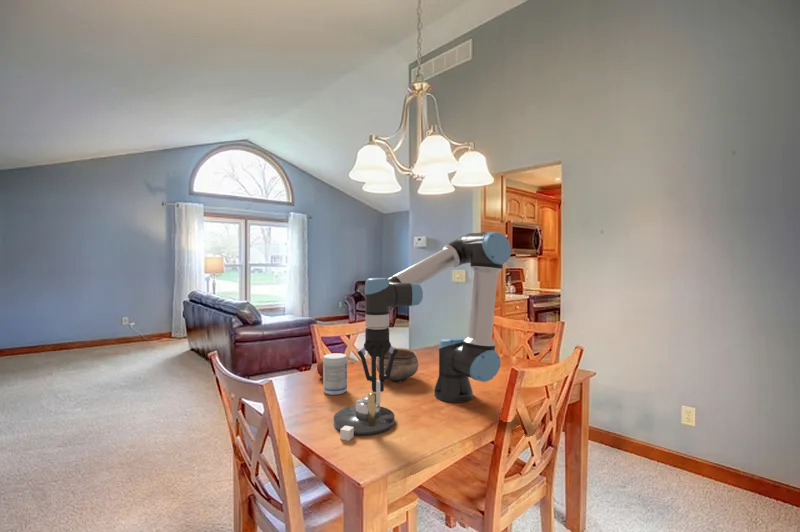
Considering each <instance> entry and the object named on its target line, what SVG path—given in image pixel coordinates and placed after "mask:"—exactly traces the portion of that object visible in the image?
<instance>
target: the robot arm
mask: <svg viewBox="0 0 800 532" xmlns="http://www.w3.org/2000/svg"><path fill="white" fill-rule="evenodd" d="M511 253H512V247H511V243H510V240H509V239H507V236H506V235H505V234H503V233H501V232H497V231H485V232H472V233H471V232H470V233H467V234H464V235H462V236H460V237H458V238H456V239H454V240H452V241H450V242H448V243H447V244H445V245H443V246H442V248H441V250H439V251H437V252H436V253H435V252H434V254H431V255H429V256H428V257H426V258H424V259H422V260H420V261H418V262H416V263H415V264H413V265H411V266H409V267H407V268H406V269H403V270H402V271H399V272H398V273H396V274H394V275H392V276H390V277H388V278H387V277H370V278H367V279H366V281H365V283H364V284H365V286H364V300H365V301H364V303H365V304H364V305H365V306H364V307H365V309H364V310H365V317H364V318H365V320H364V321H365V323H364V325H365V329H364V330H365V333H364V334H365V335H364V337H365V342H364V344H363V347H361V348H359V349H357V351H356V352H357V354H358V356H359V357H360V361H361V364H362V367H363V371H364V374H365V378H366V381H368V382H371V392H375V393H376V403H380V404H381V392H382V393H383V392H384V391H385V390H384V389H385V387H384V386H385V381H387V380H389V378H390V374H391V370H392V365H393V361H394V357H395V355H396V354H397V352H398V350H397V349H396V348H397V347H394V346H392V343H391V341H390V328H389V326H390V308H397V307H413V306H418V305H420V304H421V303H422V301H423V299H424V291H423V287H422V286H421V285H422V284H423V283H425V282H427V281H429V280H431V279H433V278H434V277H436V276H437V275H440V274H441V273H443V272H445V271H446V270H449V269H450V268H458V267H459V266H461V265H465V264H470V268H471V270H472V271H473V278H472V289H471V300H470V311H469V321H468V329H467V330H468V331H467V337H463V336H462V337H459V336H458V337H445V338H441V339H440V340H439V346H438V377H437V380H436V383H435V386H434V391H433V392H434V394H433V395H434V397H435V398H436V399H438V400H441V401H443V402H447V403H464V402H469V401H470V400H472V399H473V398H474V397H473V393H474V392H473V388H472V385H471V382H470V379H472V380H474V381H478V382H483V383H484V382H485V383H486V382H489V381H491V380H492V379H494V378H495V376H497V375H498V374H499V371H500V368H501V362H502V361H501V356H500V355H499V353H498V352H497V351H496V343H495V342H494V340H493V339H492V337H493V328H494V317H495V316H494V315H495V308H496V307H495V304H496V296H497V295H496V294H497V286H498V285H497V283H498V274H500V272H502V271H503V266H504V264H505V263H507V262H508V260H509V259H510V257H511ZM389 349H390V351H389V352H390V355H389V359H388V363H387V367H386V372H385V375H384V356H385V355H386V353H387V352H388V350H389ZM366 352H367V354H368V355H369V356H370V361H371V363H370V364H371V366H370V367H371V368H370V369H371V371H370V372H369V368H368V363H367V360H366V356H365V355H366ZM378 357H379V372H378V379H377V368H376V362H377V358H378ZM370 373H371V374H370ZM469 378H470V379H469Z"/></svg>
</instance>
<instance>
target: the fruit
mask: <svg viewBox="0 0 800 532" xmlns="http://www.w3.org/2000/svg"><path fill="white" fill-rule="evenodd" d="M316 370H317V373H318V375H319V376H320V377H321V378H323V358H322V359H319V361H318V362H317V365H316Z"/></svg>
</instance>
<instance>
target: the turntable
mask: <svg viewBox="0 0 800 532" xmlns="http://www.w3.org/2000/svg"><path fill="white" fill-rule="evenodd" d="M367 396H368V421H363V420H359V419H357V418H356V405H351V406H348V407H344V408H342V409H340V410H339V411H337V412H335V414H334V415H333V426H334V428H335V429H336V430H337V431H338V432H340V429H341V428H343V427H344V426H351V427H354V436H358V437H359V436H361V437H362V436H363V437H364V436H373V435H379V434H382V433H385V432H387V431H389V430H390V429H392V428H393V427H394V425H395V414H394V412H393V411H392V410H391V409H389V408H387V407H383V406H381V405H380V417H379V418H378V419H376V393H375V392H373V391H370V392H368V395H367Z"/></svg>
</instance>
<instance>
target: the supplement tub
mask: <svg viewBox="0 0 800 532" xmlns="http://www.w3.org/2000/svg"><path fill="white" fill-rule="evenodd" d="M322 359H323V377H322V379H323V380H322V381H323V382H322V387H323V388H322V389H323V392H324V394H327V395H329V396H330V395H332V396H335V395H336V396H337V395H342V394H344V393H346V392H347V389H348V363H347V362H348V358H347V355H346V354H345V353H341V352H339V353H338V352H335V353H332V352H331V353H327V354H324V355H323V358H322Z"/></svg>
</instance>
